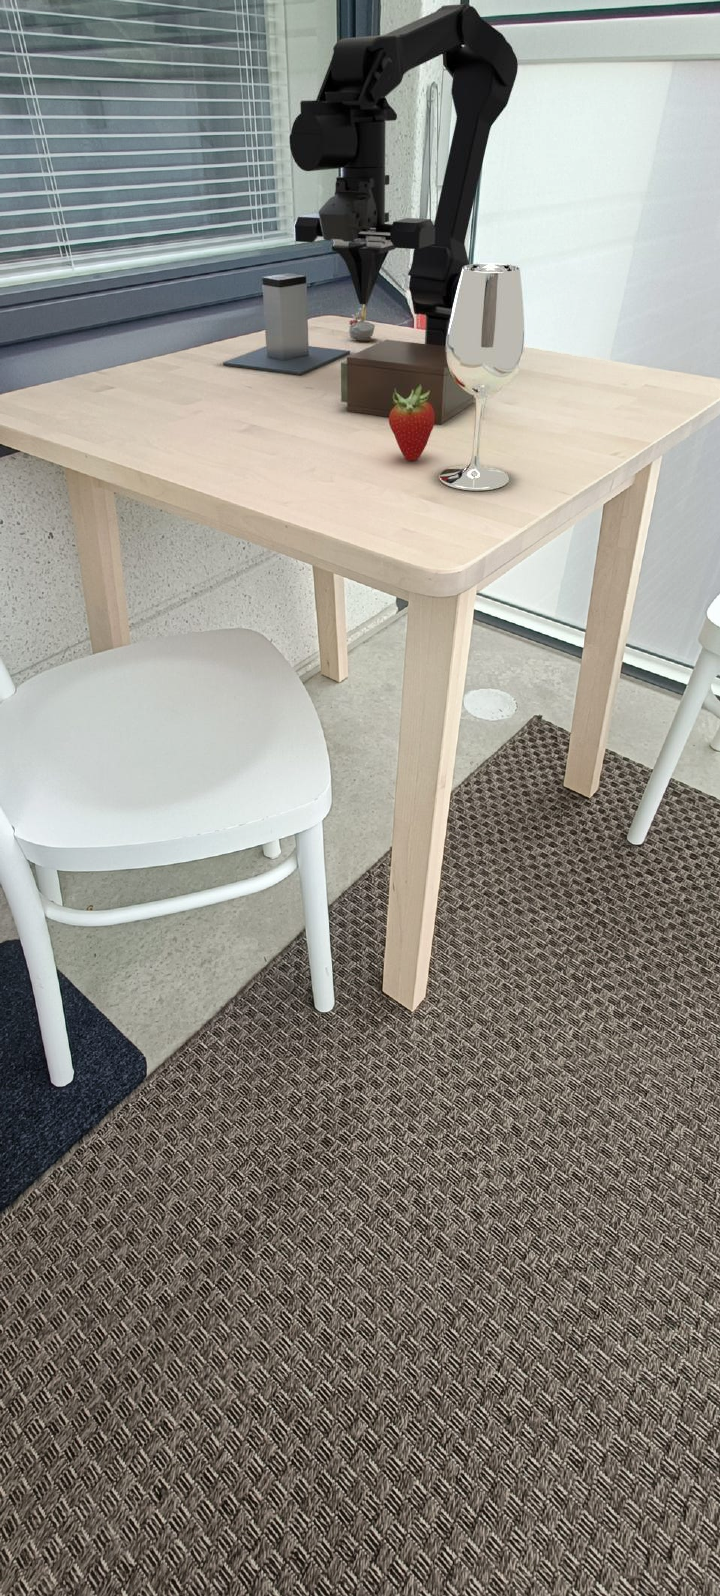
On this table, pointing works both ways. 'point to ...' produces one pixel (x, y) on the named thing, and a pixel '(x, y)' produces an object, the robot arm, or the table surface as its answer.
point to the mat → (290, 366)
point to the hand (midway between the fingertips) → (363, 304)
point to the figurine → (361, 327)
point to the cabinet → (403, 379)
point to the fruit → (412, 423)
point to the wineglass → (484, 353)
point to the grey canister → (285, 316)
